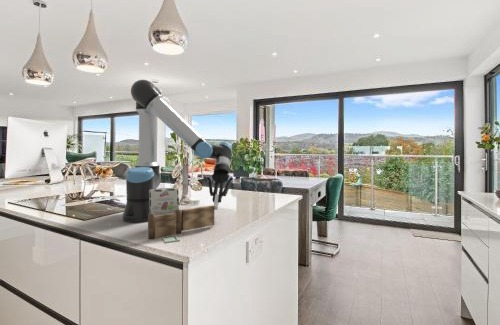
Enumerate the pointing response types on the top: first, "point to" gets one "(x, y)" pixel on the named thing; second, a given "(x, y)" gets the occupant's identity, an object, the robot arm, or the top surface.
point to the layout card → (170, 239)
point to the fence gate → (197, 217)
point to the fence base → (164, 224)
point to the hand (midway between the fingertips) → (215, 207)
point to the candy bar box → (163, 200)
